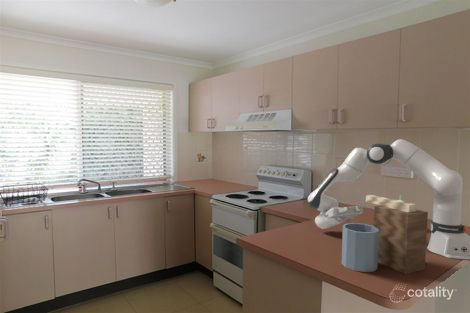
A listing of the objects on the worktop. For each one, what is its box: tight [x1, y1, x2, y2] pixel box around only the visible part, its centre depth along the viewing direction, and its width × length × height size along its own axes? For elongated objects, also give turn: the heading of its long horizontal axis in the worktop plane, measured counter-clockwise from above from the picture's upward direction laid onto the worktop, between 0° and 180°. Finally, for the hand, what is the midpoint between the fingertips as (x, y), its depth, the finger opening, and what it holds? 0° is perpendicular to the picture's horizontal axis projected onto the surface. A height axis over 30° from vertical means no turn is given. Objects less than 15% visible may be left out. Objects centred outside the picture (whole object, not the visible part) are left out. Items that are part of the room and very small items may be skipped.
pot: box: [341, 222, 379, 273], centre depth 130 cm, size 14×14×16 cm
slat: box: [365, 194, 417, 212], centre depth 135 cm, size 22×4×3 cm, turn 24°
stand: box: [373, 205, 429, 275], centre depth 131 cm, size 16×12×24 cm
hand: (354, 207), depth 153 cm, fingers open, 8 cm apart
